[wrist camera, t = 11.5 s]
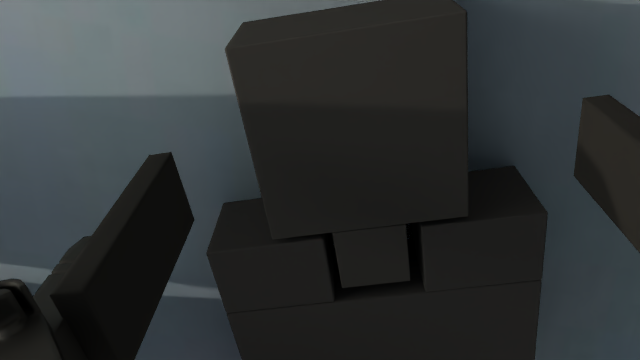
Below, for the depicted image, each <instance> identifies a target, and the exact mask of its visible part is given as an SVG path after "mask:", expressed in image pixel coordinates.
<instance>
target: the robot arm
mask: <svg viewBox="0 0 640 360" xmlns="http://www.w3.org/2000/svg"><path fill="white" fill-rule="evenodd" d="M574 177H575V178H576V179H577V180H578V181H579V183H580V184H581V185H582V186H583V187H584V188H585V190H586V191H587V192H588V193H589V194H590V195H591V197H592V198H593V199H594V200H595V201H596V202H597V204H598V205H599V206H600V207H601V208H602V209H603V211H604V212H605V213H606V214H607V215H608V216H609V218H610V219H611V220H612V221H613V222H614V223H615V225H616V226H617V227H618V228H619V229H620V230H621V232H622V233H623V234H624V235H625V236H626V237H627V239H628V240H629V241H630V242H631V243H632V244H633V246H634V247H635V248H636V249H637V250H638V251H639V253H640V117H639V116H638V115H637V114H635V113H634V112H632V111H631V110H630V109H628V108H627V107H625V106H624V105H623V104H621V103H620V102H619V101H617V100H616V99H614V98H613V97H612V96H610V95H603V96H595V97H587V98H583V101H582V110H581V118H580V127H579V135H578V144H577V152H576V161H575V169H574ZM193 222H194V217H193V214H192V211H191V208H190V205H189V202H188V199H187V197H186V194H185V191H184V188H183V185H182V182H181V179H180V176H179V173H178V170H177V167H176V164H175V161H174V158H173V156H172V153H171V152H168V153H161V154H153V155H149V156H148V158H147V159H146V160H145V162H144V163H143V165H142V166H141V167H140V169H139V170H138V172H137V173H136V174H135V176H134V177H133V179H132V180H131V181H130V183H129V184H128V186H127V187H126V188H125V190H124V191H123V193H122V194H121V195H120V197H119V198H118V200H117V201H116V202H115V204H114V205H113V207H112V208H111V209H110V211H109V212H108V214H107V215H106V216H105V218H104V219H103V221H102V222H101V223H100V225H99V226H98V228H97V229H96V231H95V232H94V233H93V235H92V236H86V237H83V238H82V239H81V240H79V241H78V242H77V243H76V244H74V245H73V246H72V247H71V248H69V249H68V251H67V252H66V253H65V255H64V256H63V257H62V259H61V260H60V261H59V262H60V263H59V264H57V265H56V267H55V268H54V269H53V271H52V274H51V275H49V276H48V277H47V279H46V280H45V281H44V283H43V284H42V285H41V287H40V288H39V289H38V291H37V292H36V293H35V295H34V296H32V295H31V293H30V291H29V290H28V288H27V286H26V285H25V283H24V282H22V281H21V280H18V279H8V280H3V281H0V360H134V359H135V357H136V355H137V352H138V350H139V348H140V345H141V343H142V341H143V338H144V336H145V334H146V332H147V329H148V327H149V325H150V322H151V320H152V318H153V315H154V313H155V311H156V308H157V306H158V304H159V301H160V299H161V297H162V294H163V292H164V290H165V287H166V285H167V283H168V280H169V278H170V276H171V273H172V271H173V269H174V266H175V264H176V262H177V259H178V257H179V255H180V253H181V250H182V248H183V246H184V243H185V241H186V239H187V236H188V234H189V232H190V229H191V227H192V225H193Z"/></svg>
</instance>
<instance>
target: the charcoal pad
mask: <svg viewBox="0 0 640 360" xmlns="http://www.w3.org/2000/svg"><path fill="white" fill-rule="evenodd" d="M547 215H548V213H547V211H546V210H545V208H544V207H543V206H542V204H541V203H540V201H539V200H538V199H537V197H536V196H535V194H534V193H533V191H532V190H531V189H530V187H529V186H528V184H527V183H526V182H525V180H524V179H523V177H522V176H521V175H520V173H519V172H518V170H517V169H516V167H515V166H510V167H502V168H494V169H486V170H478V171H470V172H468V216H466V217H458V218H449V219H441V220H433V221H424V222H416V223H411V235H412V239H407V244H408V256H409V268H410V281H402V282H393V283H384V284H375V285H366V286H357V287H347V288H342V286H341V280H340V274H339V269H338V263H337V257H336V251H335V248H334V246H333V241H332V235H331V233H324V234H315V235H307V236H299V237H290V238H282V239H272V236H271V232H270V228H269V224H268V220H267V216H266V212H265V208H264V204H263V200H262V198H259V199H251V200H244V201H236V202H228V203H224V204H223V206H222V209H221V212H220V215H219V218H218V221H217V223H216V226H215V229H214V232H213V235H212V238H211V241H210V244H209V247H208V250H207V253H206V254H207V257H208V260H209V263H210V266H211V269H212V272H213V275H214V277H215V280H216V283H217V286H218V289H219V292H220V295H221V298H222V301H223V304H224V307H225V310H226V312H227V316H228V319H229V322H230V325H231V328H232V331H233V334H234V337H235V340H236V343H237V346H238V349H239V352H240V355H241V358H242V360H535V349H536V338H537V326H538V315H539V303H540V292H541V279H542V271H543V260H544V249H545V237H546V226H547Z"/></svg>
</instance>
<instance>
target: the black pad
mask: <svg viewBox="0 0 640 360" xmlns="http://www.w3.org/2000/svg"><path fill="white" fill-rule="evenodd" d="M225 52H226V56H227V60H228V64H229V68H230V72H231V76H232V80H233V84H234V88H235V92H236V96H237V100H238V104H239V108H240V112H241V116H242V120H243V124H244V128H245V132H246V136H247V140H248V144H249V148H250V152H251V156H252V160H253V164H254V168H255V172H256V176H257V180H258V184H259V188H260V192H261V196H262V200H263V204H264V208H265V212H266V216H267V220H268V224H269V228H270V232H271V236H272V239H282V238H290V237H299V236H307V235H315V234H324V233H332V234H333V240H334V246H335V251H336V257H337V263H338V269H339V274H340V280H341V286H342V288H347V287H357V286H366V285H375V284H384V283H393V282H402V281H410V268H409V256H408V244H407V232H406V224H407V223H416V222H424V221H433V220H441V219H449V218H458V217H466V216H468V71H467V11H466V10H465V9H463V8H462V7H461V6H460V5H458V4H457V3H456V2H455V1H453V0H382V1H375V2H369V3H363V4H356V5H350V6H344V7H337V8H331V9H325V10H319V11H312V12H306V13H300V14H293V15H287V16H281V17H275V18H268V19H262V20H256V21H249V22H243V23H242V24H241V26H240V27H239V29H238V30H237V32H236V33H235V35H234V36H233V38H232V39H231V40H230V42H229V43H228V45H227V46H226V48H225Z"/></svg>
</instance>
